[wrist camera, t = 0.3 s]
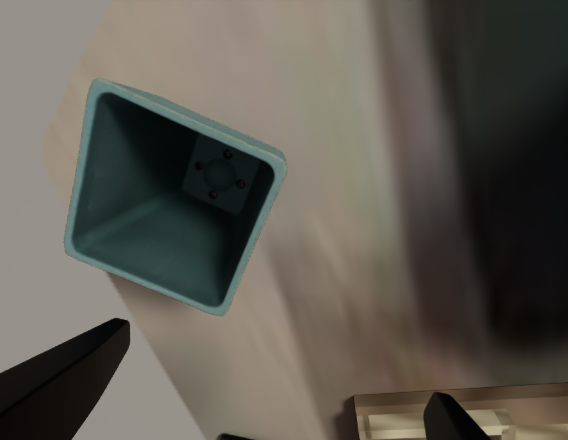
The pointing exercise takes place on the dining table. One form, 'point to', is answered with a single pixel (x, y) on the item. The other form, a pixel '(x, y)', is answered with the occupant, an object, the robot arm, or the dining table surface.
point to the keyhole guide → (470, 412)
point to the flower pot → (168, 196)
